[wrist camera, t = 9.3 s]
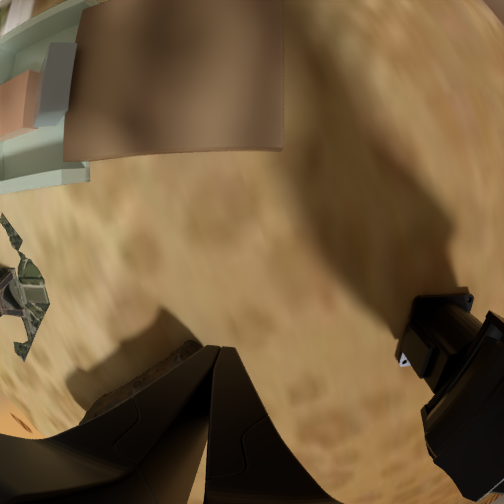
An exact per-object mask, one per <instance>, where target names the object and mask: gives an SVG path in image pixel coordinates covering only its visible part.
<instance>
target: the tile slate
mask: <svg viewBox="0 0 504 504" xmlns="http://www.w3.org/2000/svg"><path fill="white" fill-rule="evenodd" d="M76 48H77V43H58V42H51V43H50V45H49V47H48V50H47V52H46V55H45V57H44V60H43V63H42V65H41V68H40V72H39V78H38V85H37V92H36V100H35V109H34V120H33V128H35V127H47V126H56V125H57V124H58V122H59V121H60V120H61V118H62V117H63V116H64V115H65V113H66V112H67V111H68V105H69V95H70V86H71V79H72V72H73V65H74V59H75V53H76Z"/></svg>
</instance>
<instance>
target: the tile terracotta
mask: <svg viewBox="0 0 504 504" xmlns="http://www.w3.org/2000/svg"><path fill="white" fill-rule="evenodd" d="M38 78H39V73H38V72H35V71H32V70H28V71H26V72H24V73H22V74H20V75H18V76H16V77H14V78H12V79H11V80H9V81H7V82H5V83H4V84H2V85H0V141H6V140H9V139H11V138H14V137H17V136H20V135H22V134H25V133H28V132H31V131H34V130H37V129H38V127H35V128H33V120H34V109H35V100H36V92H37V85H38Z"/></svg>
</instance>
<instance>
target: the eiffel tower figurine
mask: <svg viewBox="0 0 504 504" xmlns="http://www.w3.org/2000/svg"><path fill="white" fill-rule="evenodd" d="M0 223H1V224H2V226H3V227H4V228H5V229H6V231H7V234H8V236H9V237H10V242H11V245H12V247H13V248H15V249H16V250H17V251H18V250H19V248H20V246H21V244H22V241H23V240H22V239H21V238H20V237H19V235H18V234H17V233H16V232H15V230H14V229H13V228H12V227H11V225H10V224H9V223H8V222H7V220H6V219H5V217H4V216H3V214H2V215H1V218H0ZM18 253H19V256H20V258H21V260H20V263H19V266H18V281H17V277H16V272H15V268H0V317H1V316H2V315H13V316H18V317H21V318H22V320H23V322H24V326H25V329H26V332H27V336H28V341H27V342H25V343H23V344H22V343H18V342H14V348H15V352H16V353H17V355H18V356H19V357H20V358H21V359H22V360H23V362H25V359H26V356H27V354H28V352H29V349H30V347H31V345H32V342H33V339H34V337H35V334H36V332H37V330H38V328H39V325H40V323H41V321H42V319H43V317H44V315H45V313H46V311H47V309H48V307H49V305H50V303H49V299H48V295H47V291H46V288H45V282H44V279H43V277H42V275H41V273H40V271H39V269H38V268H37V267H36V266H35V265H34V264H33V262H32V260H31V259H28V258H25V255H24V254H23V253H21V252H19V251H18Z"/></svg>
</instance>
